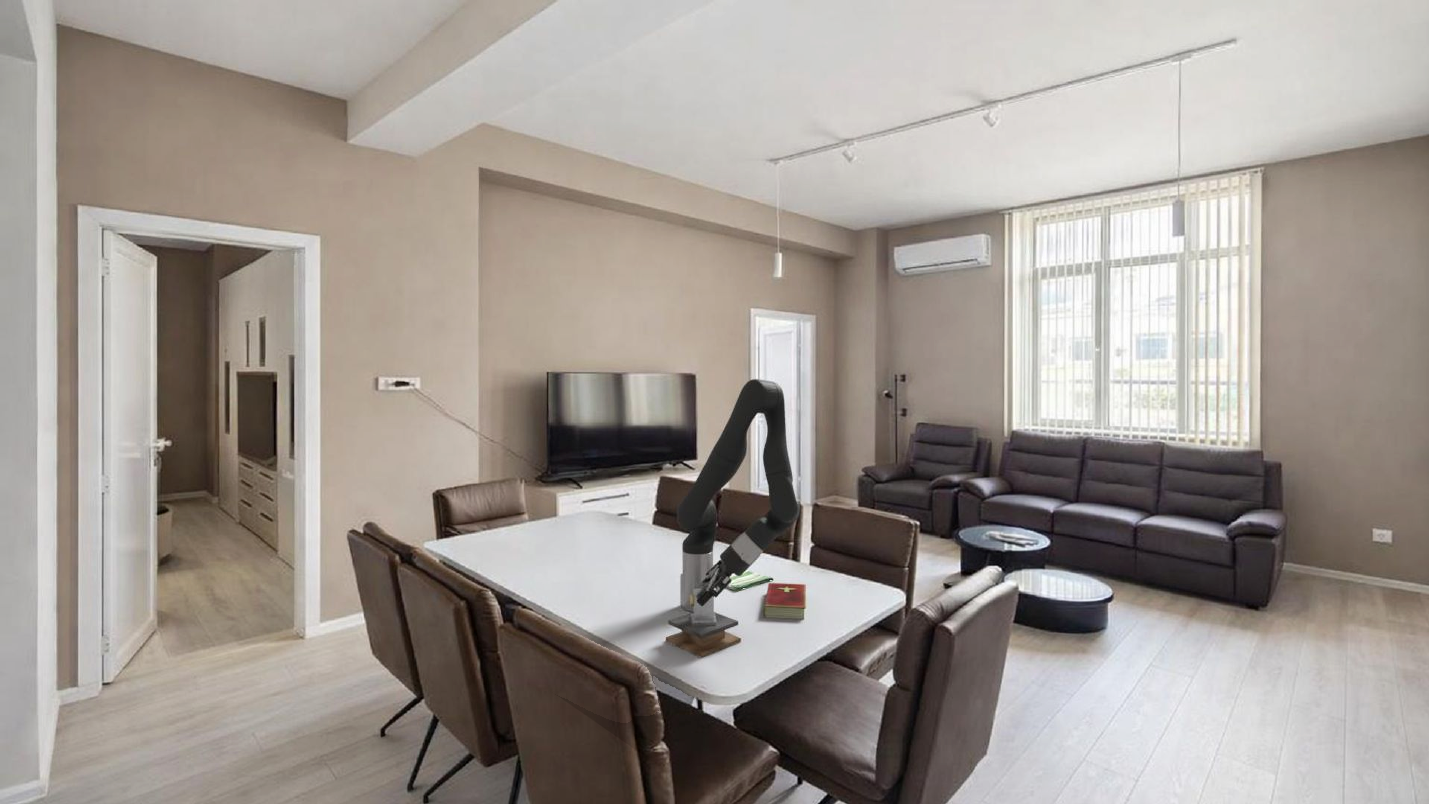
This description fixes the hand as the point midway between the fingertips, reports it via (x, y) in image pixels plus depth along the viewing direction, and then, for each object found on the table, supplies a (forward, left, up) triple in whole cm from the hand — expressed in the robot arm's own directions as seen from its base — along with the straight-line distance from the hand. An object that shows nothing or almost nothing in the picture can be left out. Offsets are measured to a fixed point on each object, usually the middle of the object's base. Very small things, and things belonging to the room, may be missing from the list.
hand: (698, 597), depth 173 cm
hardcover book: (-2, +37, -12) cm, 39 cm away
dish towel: (-32, +44, -12) cm, 56 cm away
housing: (+1, +1, -6) cm, 6 cm away
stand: (+1, +1, -12) cm, 12 cm away
